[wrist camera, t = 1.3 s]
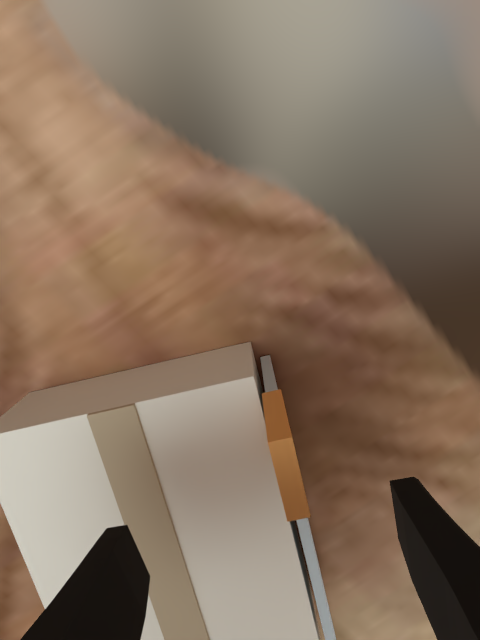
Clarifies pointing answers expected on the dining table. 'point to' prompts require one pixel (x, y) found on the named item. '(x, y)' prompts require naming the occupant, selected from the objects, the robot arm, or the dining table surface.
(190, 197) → the dining table surface
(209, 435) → the carton
